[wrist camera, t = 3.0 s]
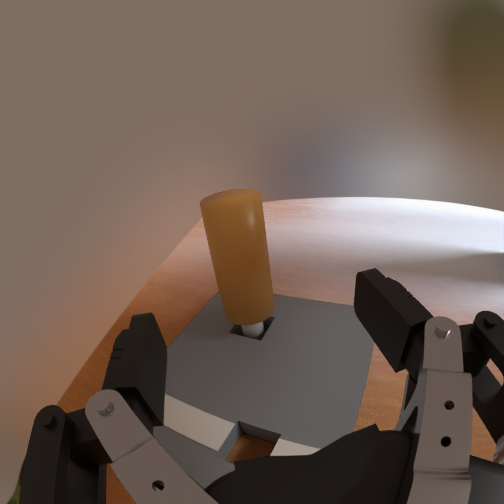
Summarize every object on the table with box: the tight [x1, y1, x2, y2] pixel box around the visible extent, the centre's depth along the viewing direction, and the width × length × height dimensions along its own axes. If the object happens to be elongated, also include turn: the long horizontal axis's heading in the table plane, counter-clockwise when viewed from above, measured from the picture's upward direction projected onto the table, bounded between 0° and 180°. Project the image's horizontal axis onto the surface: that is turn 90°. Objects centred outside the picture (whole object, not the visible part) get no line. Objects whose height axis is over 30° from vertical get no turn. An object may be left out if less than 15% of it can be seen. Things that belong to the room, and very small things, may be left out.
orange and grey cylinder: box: [200, 189, 274, 341], centre depth 23 cm, size 4×4×14 cm
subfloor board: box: [153, 291, 374, 489], centre depth 21 cm, size 20×17×2 cm
